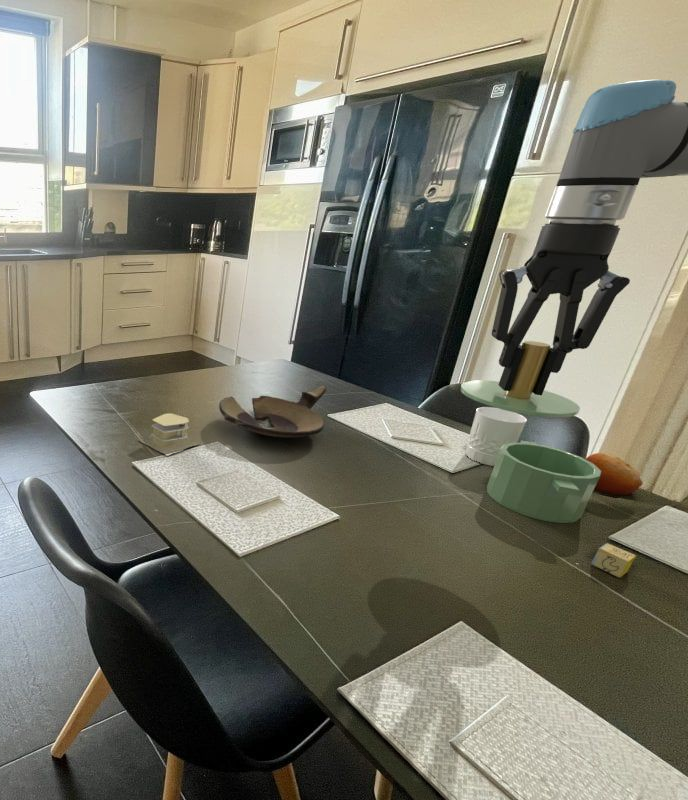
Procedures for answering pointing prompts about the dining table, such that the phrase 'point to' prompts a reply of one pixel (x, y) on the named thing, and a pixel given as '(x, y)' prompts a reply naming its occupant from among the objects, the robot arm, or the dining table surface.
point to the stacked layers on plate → (169, 429)
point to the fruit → (615, 475)
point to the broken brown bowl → (277, 415)
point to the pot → (542, 482)
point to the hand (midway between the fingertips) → (519, 389)
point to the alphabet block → (613, 560)
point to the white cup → (493, 433)
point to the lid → (523, 389)
